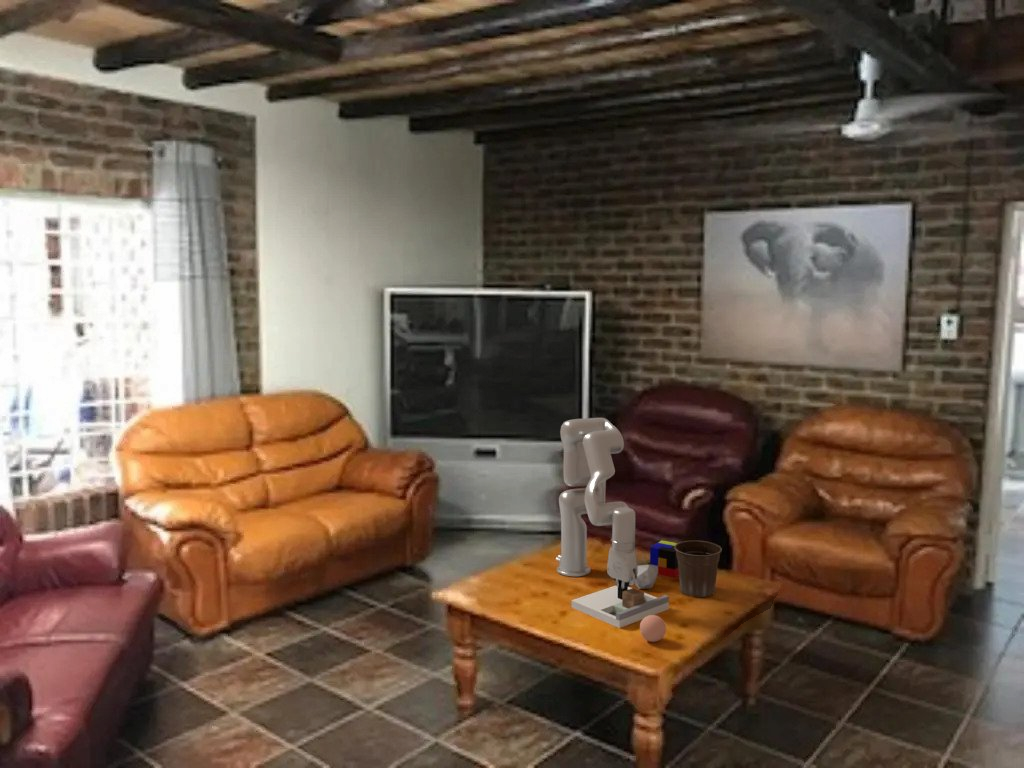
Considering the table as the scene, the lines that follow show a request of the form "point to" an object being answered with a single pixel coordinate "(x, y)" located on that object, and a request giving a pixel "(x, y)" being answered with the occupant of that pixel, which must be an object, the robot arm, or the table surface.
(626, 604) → the block
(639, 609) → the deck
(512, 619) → the table surface
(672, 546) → the puzzle toy
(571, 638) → the table surface
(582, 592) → the table surface
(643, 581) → the die
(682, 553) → the plant pot
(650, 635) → the toy ball
